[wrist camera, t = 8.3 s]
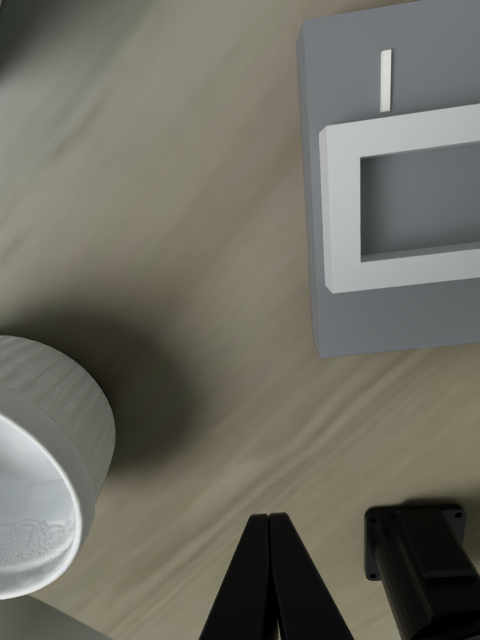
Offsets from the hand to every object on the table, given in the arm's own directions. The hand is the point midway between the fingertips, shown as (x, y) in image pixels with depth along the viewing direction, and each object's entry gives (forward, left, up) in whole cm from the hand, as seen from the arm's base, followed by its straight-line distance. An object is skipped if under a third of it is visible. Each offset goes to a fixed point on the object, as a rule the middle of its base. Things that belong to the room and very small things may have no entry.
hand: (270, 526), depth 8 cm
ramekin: (-4, +15, -12) cm, 20 cm away
